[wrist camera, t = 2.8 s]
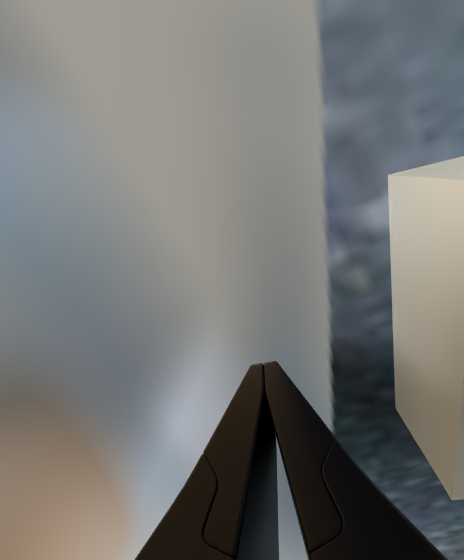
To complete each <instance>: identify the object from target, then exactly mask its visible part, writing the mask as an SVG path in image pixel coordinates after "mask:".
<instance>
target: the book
mask: <svg viewBox="0 0 464 560" xmlns="http://www.w3.org/2000/svg"><path fill="white" fill-rule="evenodd" d="M388 192H389V223H390V254H391V285H392V316H393V347H394V378H395V408H396V410H397V411H398V413H399V415H400V416H401V418H402V420H403V421H404V423H405V425H406V426H407V428H408V429H409V431H410V433H411V434H412V436H413V438H414V439H415V441H416V442H417V444H418V446H419V447H420V449H421V451H422V452H423V454H424V455H425V457H426V459H427V460H428V462H429V464H430V465H431V467H432V469H433V470H434V472H435V473H436V475H437V477H438V478H439V480H440V482H441V483H442V485H443V486H444V488H445V490H446V491H447V493H448V495H449V496H450V498H451V500H462V499H464V156H463V157H458V158H454V159H450V160H446V161H442V162H438V163H434V164H430V165H426V166H422V167H418V168H414V169H410V170H406V171H402V172H398V173H394V174H390V175H388Z"/></svg>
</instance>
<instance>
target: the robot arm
mask: <svg viewBox="0 0 464 560" xmlns="http://www.w3.org/2000/svg"><path fill="white" fill-rule="evenodd" d="M276 437H277V441H278V445H279V448H280V452H281V456H282V460H283V464H284V468H285V472H286V476H287V480H288V483H289V487H290V491H291V495H292V499H293V502H294V507H295V510H296V514H297V518H298V522H299V526H300V530H301V534H302V537H303V541H304V545H305V549H306V553H307V557H308V560H448V559H447V558H446V557H445V556H444V555H443V554H442V553H441V552H440V551H439V550H438V549H437V548H436V547H435V546H434V545H433V544H432V543H431V542H430V541H429V540H428V539H427V538H426V537H425V536H424V535H423V534H422V533H421V532H420V531H419V530H418V529H417V528H416V527H415V526H414V525H413V524H412V523H411V522H410V521H409V519H408V518H407V517H406V516H405V515H404V514H403V513H402V512H401V511H400V510H399V509H398V508H397V507H396V506H395V505H394V504H393V503H392V502H391V501H390V500H389V499H388V498H387V497H386V496H385V495H384V494H383V493H382V491H381V490H380V489H379V488H378V487H377V486H376V485H375V484H374V483H373V482H372V481H371V480H370V478H369V477H368V476H367V475H366V474H365V473H364V472H363V471H362V470H361V469H360V467H359V466H358V465H357V464H356V463H355V461H354V460H353V459H352V458H351V456H350V455H349V454H348V453H347V452H346V450H345V449H344V448H343V446H342V445H341V444H340V443H339V441H338V440H337V439H335V436H334V435H333V434H332V432H331V431H330V430H329V429H328V427H327V426H326V425H325V423H324V422H323V421H322V419H321V418H320V417H319V416H318V414H317V413H316V412H315V410H314V409H313V408H312V407H311V406H310V404H309V403H308V401H307V400H306V399H305V397H303V395H302V394H301V392H300V391H299V390H298V388H297V387H296V386H295V385H294V383H293V382H292V381H291V379H290V378H289V377H288V376H287V374H286V373H285V372H284V370H283V369H282V368H281V366H280V365H279V364H278V363H277V362H276V361H272V362H266V363H265V364H262V363H260V364H253V365H251V366H250V368H249V369H248V371H247V373H246V375H245V377H244V378H243V380H242V382H241V384H240V386H239V388H238V389H237V391H236V394H235V395H234V397H233V399H232V400H231V402H230V404H229V406H228V408H227V410H226V412H225V413H224V415H223V417H222V419H221V421H220V422H219V425H218V426H217V428H216V430H215V432H214V434H213V435H212V437H211V439H210V441H209V443H208V444H207V446H206V448H205V450H204V452H203V455H201V457H200V459H199V461H198V462H197V464H196V466H195V468H194V470H193V471H192V473H191V475H190V477H189V478H188V480H187V482H186V483H185V485H184V487H183V488H182V490H181V491H180V493H179V494H178V496H177V497H176V499H175V501H174V502H173V504H172V505H171V507H170V508H169V510H168V511H167V513H166V514H165V516H164V517H163V519H162V520H161V522H160V523H159V525H158V526H157V528H156V529H155V531H154V532H153V533H152V535H151V536H150V538H149V539H148V541H147V542H146V544H145V545H144V547H143V548H142V550H141V551H140V553H139V554H138V555H137V557H136V559H135V560H279V543H278V542H279V541H278V497H277V455H276V454H277V453H276Z"/></svg>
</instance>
